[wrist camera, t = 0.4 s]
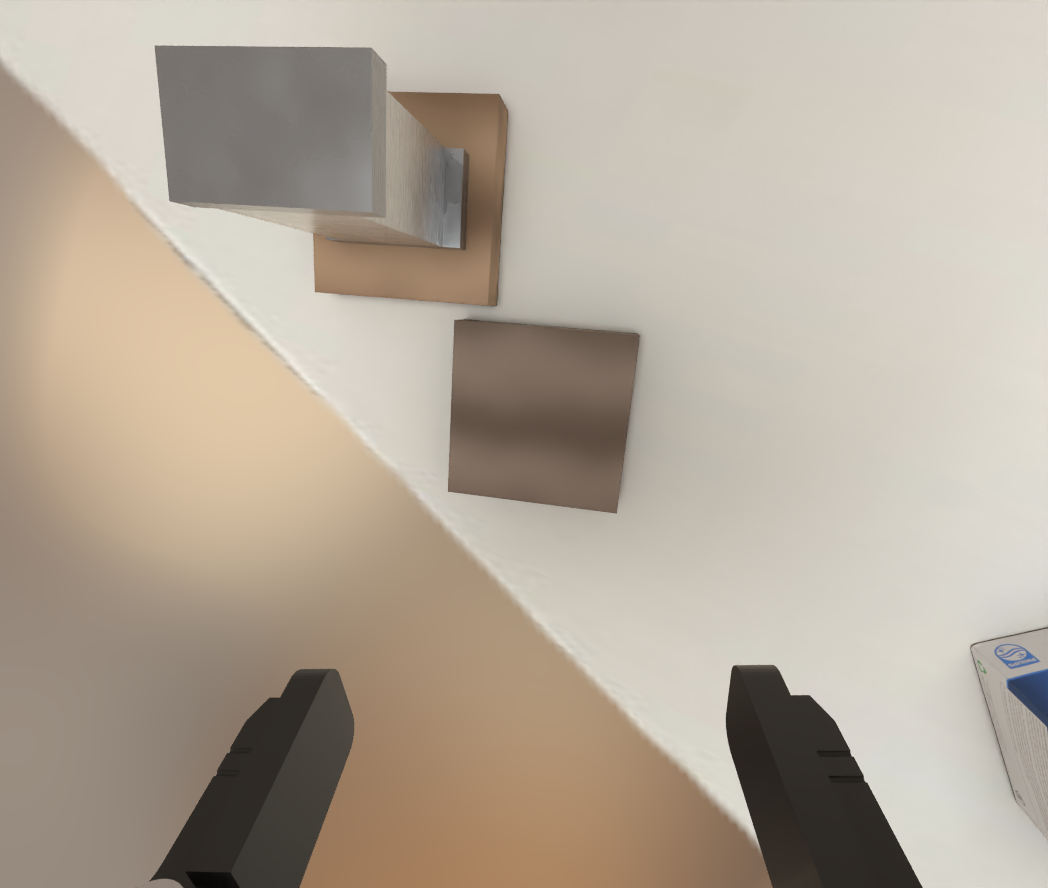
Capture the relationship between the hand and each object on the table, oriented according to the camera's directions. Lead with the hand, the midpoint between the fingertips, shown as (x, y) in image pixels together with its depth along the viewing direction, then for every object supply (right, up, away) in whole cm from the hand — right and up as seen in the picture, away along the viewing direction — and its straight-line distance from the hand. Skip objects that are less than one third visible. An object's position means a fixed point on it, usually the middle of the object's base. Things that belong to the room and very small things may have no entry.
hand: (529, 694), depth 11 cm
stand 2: (+1, +7, +24) cm, 25 cm away
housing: (-7, +19, +19) cm, 28 cm away
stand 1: (-7, +20, +22) cm, 30 cm away
